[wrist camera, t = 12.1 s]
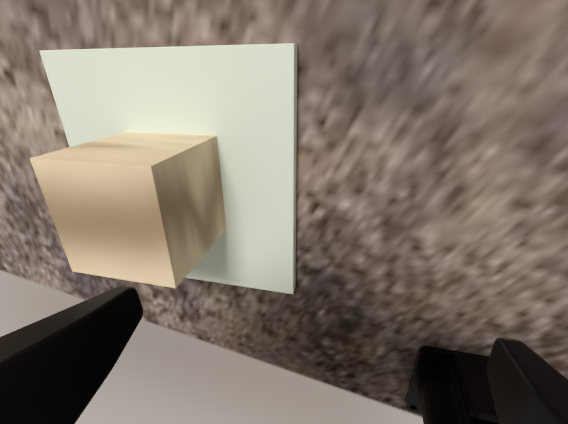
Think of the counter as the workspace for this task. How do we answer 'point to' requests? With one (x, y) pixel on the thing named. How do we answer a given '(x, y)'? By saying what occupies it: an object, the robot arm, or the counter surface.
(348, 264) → the counter surface
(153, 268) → the maple cube
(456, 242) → the counter surface
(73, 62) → the sage mat
